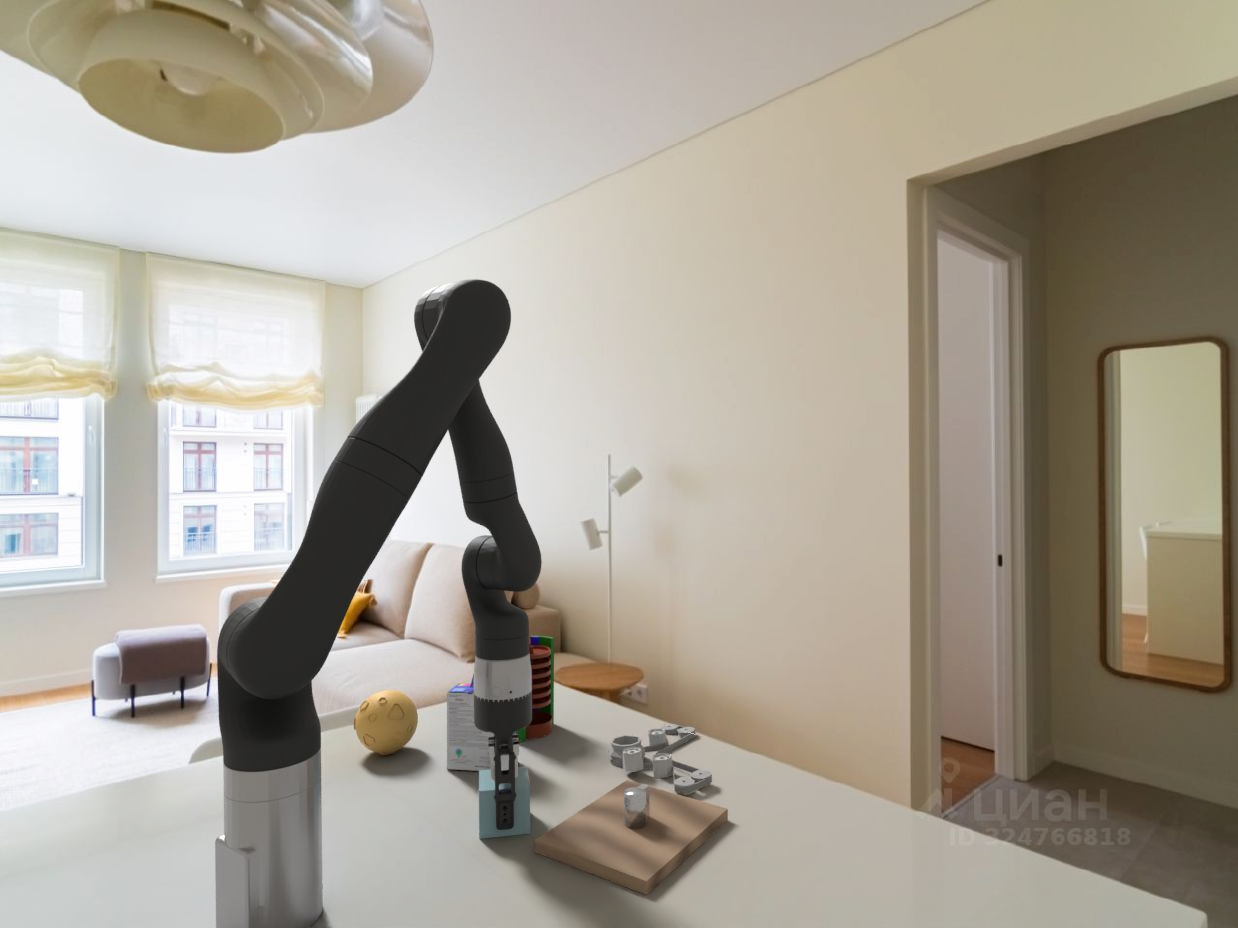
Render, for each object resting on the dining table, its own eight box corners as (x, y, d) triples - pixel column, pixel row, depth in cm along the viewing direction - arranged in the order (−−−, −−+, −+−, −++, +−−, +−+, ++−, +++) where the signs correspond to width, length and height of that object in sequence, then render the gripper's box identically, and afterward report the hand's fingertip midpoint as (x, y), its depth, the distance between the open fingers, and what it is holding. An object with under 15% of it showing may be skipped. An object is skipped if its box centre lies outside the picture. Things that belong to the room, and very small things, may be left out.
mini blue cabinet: (530, 833, 93) (529, 784, 93) (479, 838, 92) (478, 789, 92) (527, 810, 100) (526, 764, 100) (479, 814, 98) (479, 768, 98)
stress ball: (391, 743, 126) (343, 713, 123) (429, 699, 127) (382, 668, 124) (390, 776, 117) (338, 744, 114) (431, 728, 117) (381, 695, 114)
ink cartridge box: (518, 759, 117) (517, 669, 117) (507, 774, 111) (506, 679, 111) (459, 756, 118) (458, 666, 118) (445, 770, 113) (444, 676, 113)
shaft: (638, 831, 91) (638, 798, 91) (620, 824, 92) (619, 793, 92) (655, 817, 94) (655, 786, 94) (637, 812, 95) (636, 781, 95)
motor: (542, 742, 124) (541, 624, 124) (492, 739, 125) (491, 623, 125) (559, 721, 133) (558, 612, 133) (513, 719, 135) (512, 611, 135)
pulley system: (610, 807, 102) (716, 798, 103) (607, 773, 102) (714, 764, 103) (609, 740, 130) (693, 733, 130) (607, 713, 130) (691, 707, 130)
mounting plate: (646, 894, 80) (646, 881, 80) (535, 851, 89) (535, 839, 89) (727, 819, 96) (727, 808, 96) (627, 790, 105) (626, 779, 105)
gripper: (535, 703, 89) (536, 838, 89) (528, 671, 104) (529, 787, 104) (472, 708, 88) (474, 845, 88) (474, 674, 102) (475, 792, 102)
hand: (504, 813), depth 96 cm, fingers open, 7 cm apart
